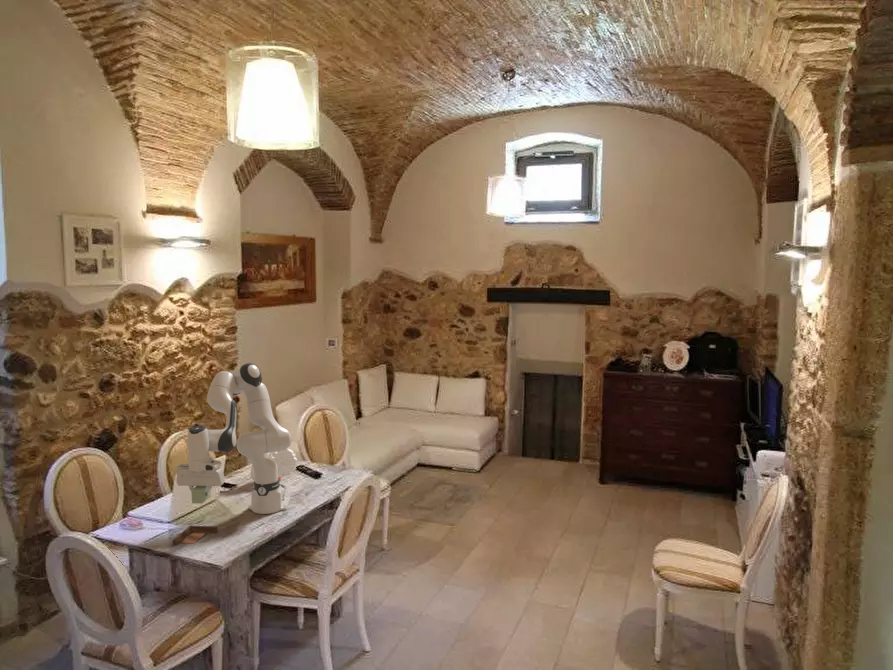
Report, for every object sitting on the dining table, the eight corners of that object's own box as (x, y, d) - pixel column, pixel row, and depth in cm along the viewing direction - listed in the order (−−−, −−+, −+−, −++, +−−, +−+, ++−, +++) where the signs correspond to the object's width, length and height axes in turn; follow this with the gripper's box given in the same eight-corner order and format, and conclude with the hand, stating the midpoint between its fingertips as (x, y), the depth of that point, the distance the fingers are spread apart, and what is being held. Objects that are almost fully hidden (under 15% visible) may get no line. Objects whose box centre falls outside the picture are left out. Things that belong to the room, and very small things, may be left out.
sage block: (192, 503, 276) (191, 489, 276) (200, 496, 284) (200, 483, 284) (202, 503, 276) (201, 489, 275) (210, 496, 284) (209, 483, 283)
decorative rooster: (245, 486, 346) (243, 441, 344) (261, 477, 361) (259, 433, 359) (286, 490, 339) (284, 444, 336) (301, 481, 354) (299, 436, 351)
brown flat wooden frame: (190, 530, 290) (190, 525, 290) (217, 531, 289) (217, 526, 288) (172, 545, 275) (172, 539, 275) (201, 546, 274) (201, 540, 273)
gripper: (172, 466, 276) (174, 497, 278) (218, 466, 274) (220, 498, 276) (180, 461, 283) (181, 492, 284) (225, 462, 281) (226, 493, 282)
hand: (201, 495), depth 280 cm, fingers closed on sage block, 4 cm apart
